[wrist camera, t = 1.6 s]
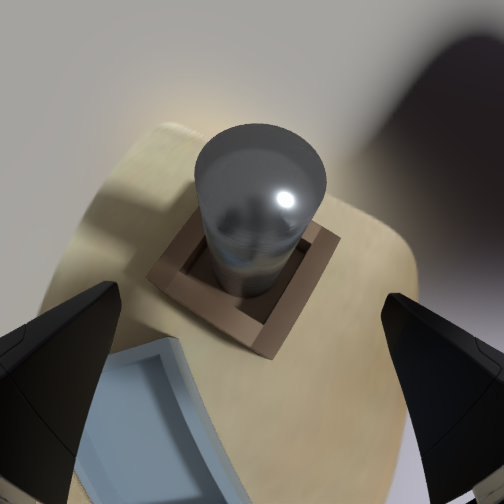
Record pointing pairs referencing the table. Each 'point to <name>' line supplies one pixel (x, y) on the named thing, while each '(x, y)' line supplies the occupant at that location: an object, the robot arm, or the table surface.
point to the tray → (153, 435)
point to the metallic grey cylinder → (256, 202)
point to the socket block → (239, 309)
